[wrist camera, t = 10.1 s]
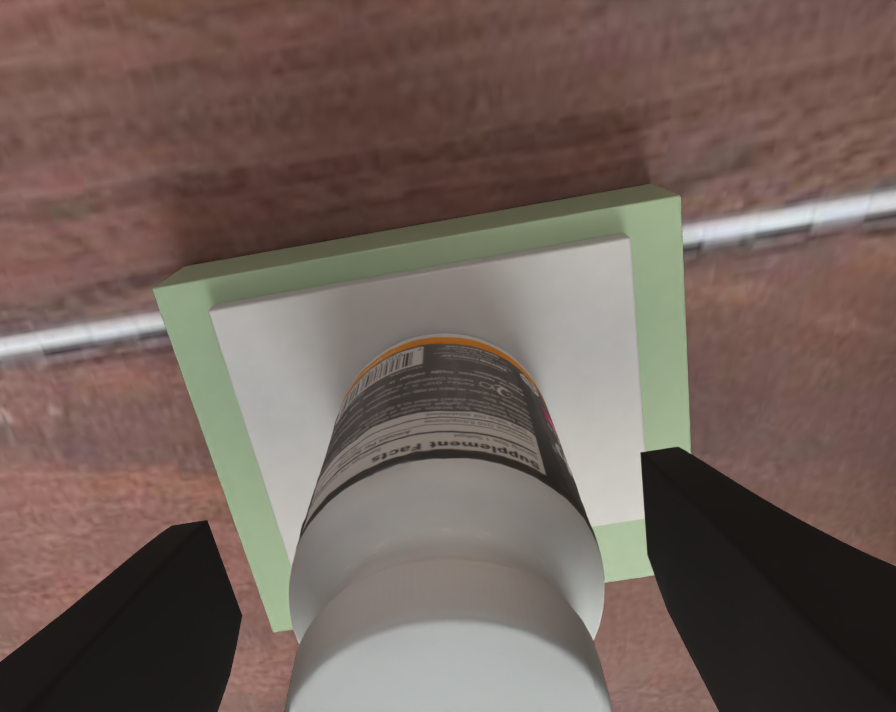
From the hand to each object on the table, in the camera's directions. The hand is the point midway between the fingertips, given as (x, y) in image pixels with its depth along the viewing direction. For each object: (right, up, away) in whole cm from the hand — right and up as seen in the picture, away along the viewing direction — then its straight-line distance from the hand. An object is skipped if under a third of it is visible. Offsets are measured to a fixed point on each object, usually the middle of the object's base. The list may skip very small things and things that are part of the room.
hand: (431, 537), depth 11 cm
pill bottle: (0, +1, +8) cm, 8 cm away
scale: (0, +1, +11) cm, 11 cm away
